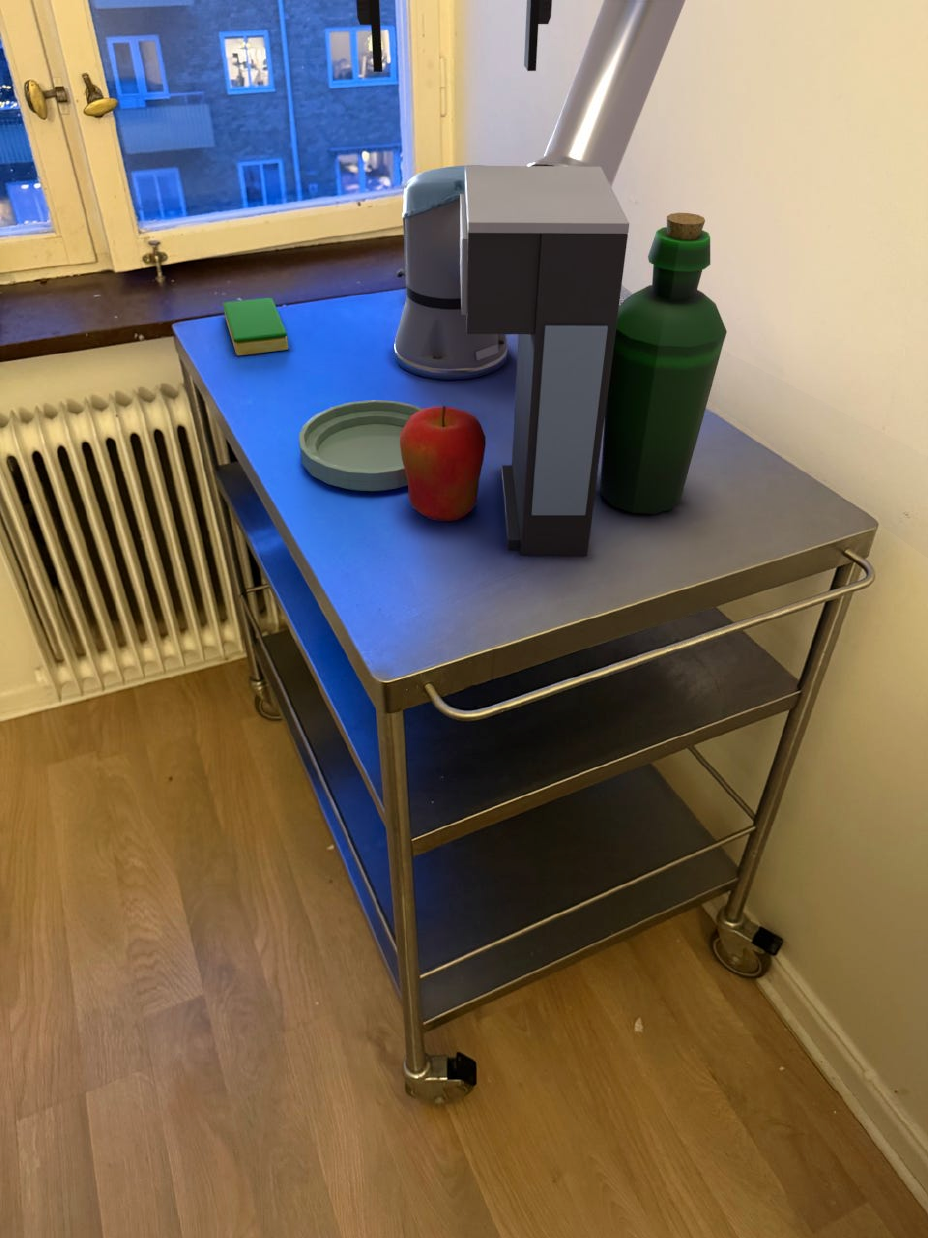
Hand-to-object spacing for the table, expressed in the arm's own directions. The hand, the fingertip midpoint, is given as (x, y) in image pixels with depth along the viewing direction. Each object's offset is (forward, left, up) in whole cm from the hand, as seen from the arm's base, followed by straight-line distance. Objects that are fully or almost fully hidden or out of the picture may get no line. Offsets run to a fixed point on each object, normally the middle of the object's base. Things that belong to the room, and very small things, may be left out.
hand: (454, 69), depth 79 cm
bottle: (+21, +11, -37) cm, 44 cm away
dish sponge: (-39, -9, -37) cm, 55 cm away
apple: (+13, -9, -37) cm, 40 cm away
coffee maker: (+17, -2, -37) cm, 41 cm away
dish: (0, -10, -37) cm, 38 cm away
